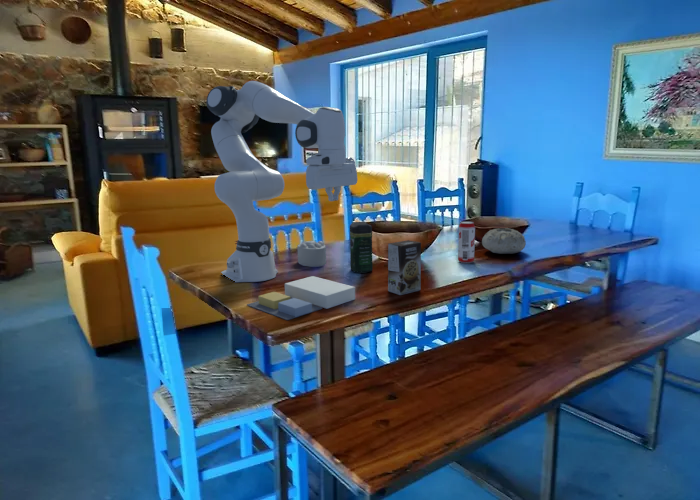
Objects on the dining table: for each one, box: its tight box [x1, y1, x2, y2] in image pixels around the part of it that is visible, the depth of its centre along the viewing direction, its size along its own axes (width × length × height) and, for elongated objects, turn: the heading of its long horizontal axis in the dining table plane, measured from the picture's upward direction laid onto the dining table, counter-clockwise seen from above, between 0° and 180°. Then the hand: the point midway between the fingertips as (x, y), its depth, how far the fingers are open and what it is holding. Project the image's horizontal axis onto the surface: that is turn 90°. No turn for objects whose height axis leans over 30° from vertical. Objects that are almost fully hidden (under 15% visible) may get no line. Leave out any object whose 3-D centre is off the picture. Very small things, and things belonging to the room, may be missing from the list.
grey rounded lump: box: [481, 227, 527, 255], centre depth 216 cm, size 18×18×10 cm
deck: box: [284, 275, 356, 309], centre depth 162 cm, size 20×12×4 cm, turn 45°
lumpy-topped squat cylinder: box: [297, 240, 327, 268], centre depth 207 cm, size 10×13×9 cm
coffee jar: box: [349, 221, 374, 274], centre depth 192 cm, size 10×8×19 cm
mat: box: [246, 297, 323, 321], centre depth 154 cm, size 20×13×1 cm, turn 45°
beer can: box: [457, 220, 476, 264], centre depth 201 cm, size 6×6×16 cm
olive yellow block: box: [257, 291, 291, 309], centre depth 156 cm, size 8×6×2 cm
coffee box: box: [387, 239, 422, 296], centre depth 166 cm, size 9×6×16 cm
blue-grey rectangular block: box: [278, 298, 313, 318], centre depth 149 cm, size 8×6×2 cm
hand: (333, 200), depth 169 cm, fingers closed
